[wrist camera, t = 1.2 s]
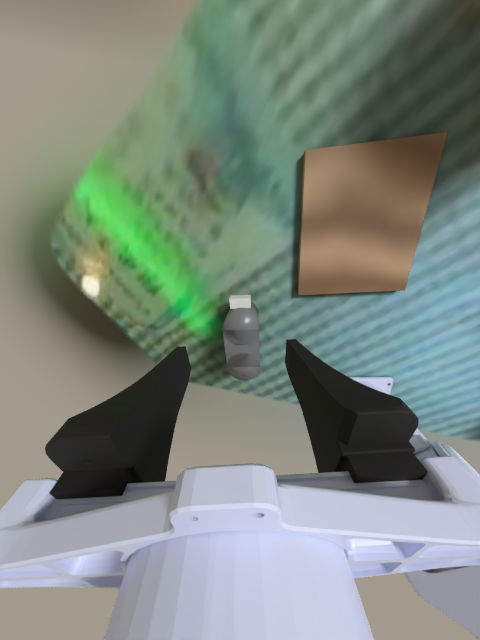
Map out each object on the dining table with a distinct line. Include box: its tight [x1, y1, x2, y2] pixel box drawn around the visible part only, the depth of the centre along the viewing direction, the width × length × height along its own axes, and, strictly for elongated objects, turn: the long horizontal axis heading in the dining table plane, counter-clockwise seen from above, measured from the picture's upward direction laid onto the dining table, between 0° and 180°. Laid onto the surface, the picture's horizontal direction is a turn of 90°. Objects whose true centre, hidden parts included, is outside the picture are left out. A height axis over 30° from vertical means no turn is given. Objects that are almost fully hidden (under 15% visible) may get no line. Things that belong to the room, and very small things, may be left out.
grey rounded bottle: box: [223, 295, 260, 380], centre depth 23 cm, size 10×4×5 cm, turn 4°
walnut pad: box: [297, 132, 448, 295], centre depth 20 cm, size 14×12×1 cm
